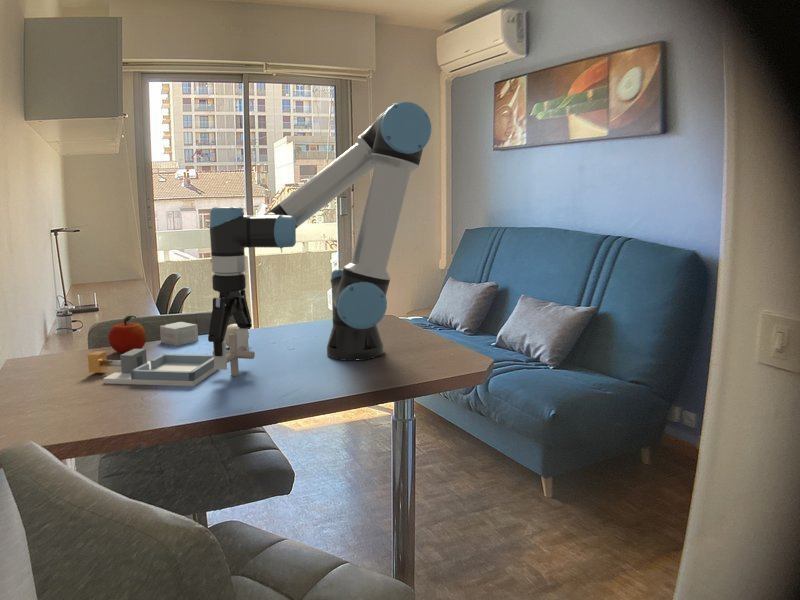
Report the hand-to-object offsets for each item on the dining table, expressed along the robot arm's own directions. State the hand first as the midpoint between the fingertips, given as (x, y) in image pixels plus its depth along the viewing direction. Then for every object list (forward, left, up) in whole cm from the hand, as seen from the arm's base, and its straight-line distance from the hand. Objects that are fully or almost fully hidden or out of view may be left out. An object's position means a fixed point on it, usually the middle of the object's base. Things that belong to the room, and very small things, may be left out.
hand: (232, 361), depth 151 cm
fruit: (+38, -18, -4) cm, 42 cm away
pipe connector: (0, 0, -4) cm, 4 cm away
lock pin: (+29, +2, -3) cm, 30 cm away
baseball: (+10, -26, -4) cm, 28 cm away
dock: (+17, +2, -3) cm, 17 cm away
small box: (+29, -31, -4) cm, 43 cm away
